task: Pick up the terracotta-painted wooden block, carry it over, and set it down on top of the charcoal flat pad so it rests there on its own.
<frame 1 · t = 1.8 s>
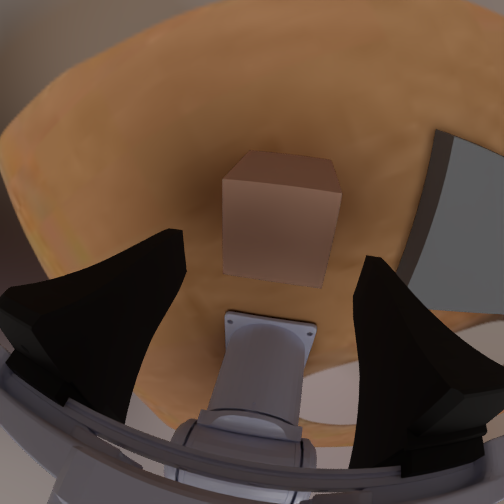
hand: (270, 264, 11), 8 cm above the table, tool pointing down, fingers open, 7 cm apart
charcoal flat pad: (475, 226, 16), on the table
terracotta block: (286, 191, 17), on the table
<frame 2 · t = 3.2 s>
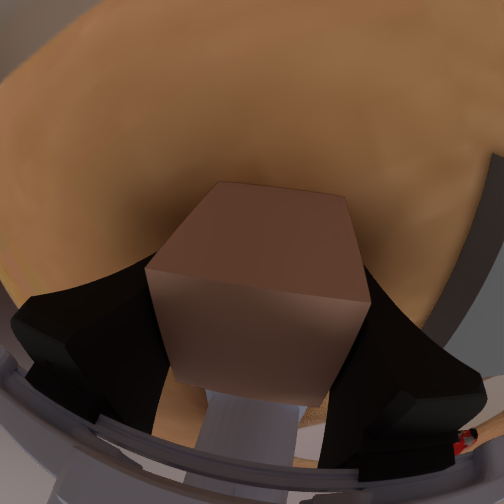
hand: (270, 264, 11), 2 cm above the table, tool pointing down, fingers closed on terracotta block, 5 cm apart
race car: (443, 434, 23), on the table
terracotta block: (275, 242, 12), on the table, touching gripper
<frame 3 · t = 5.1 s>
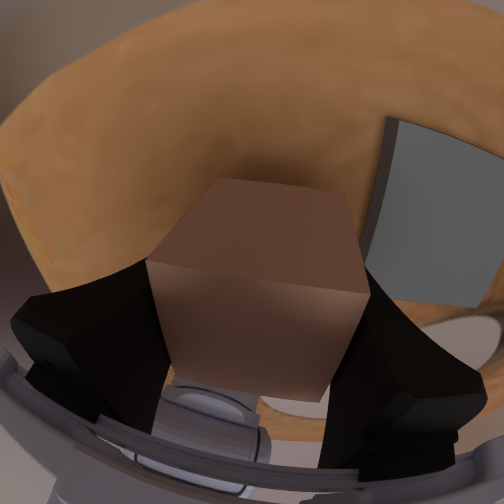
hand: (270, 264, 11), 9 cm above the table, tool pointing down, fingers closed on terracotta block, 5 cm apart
charcoal flat pad: (439, 214, 17), on the table
terracotta block: (275, 238, 12), point 7 cm above the table, touching gripper
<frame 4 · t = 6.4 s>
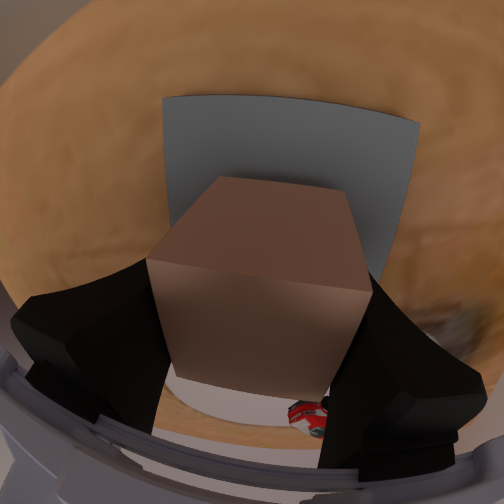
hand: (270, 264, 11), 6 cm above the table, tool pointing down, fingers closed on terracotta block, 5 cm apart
charcoal flat pad: (285, 198, 16), on the table
race car: (340, 408, 29), on the table
terracotta block: (276, 237, 12), point 4 cm above the table, touching gripper
when the fingers open (6 cm above the table, at t = 7.3 s): terracotta block drops 2 cm, point 2 cm above the table.
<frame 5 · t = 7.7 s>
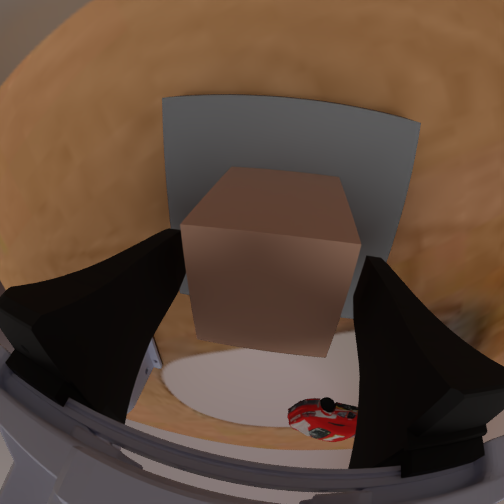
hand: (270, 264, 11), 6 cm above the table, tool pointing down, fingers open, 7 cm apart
charcoal flat pad: (285, 198, 16), on the table
race car: (340, 409, 29), on the table
terracotta block: (281, 219, 14), point 2 cm above the table
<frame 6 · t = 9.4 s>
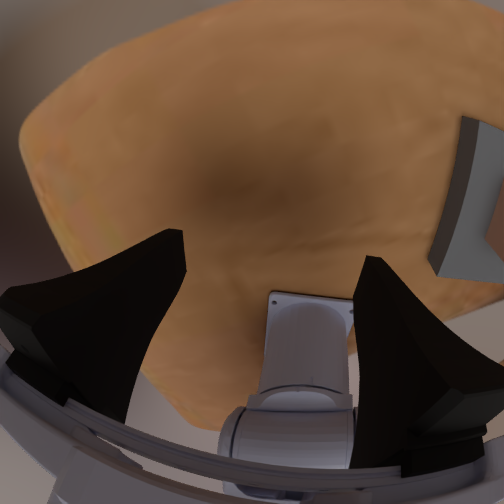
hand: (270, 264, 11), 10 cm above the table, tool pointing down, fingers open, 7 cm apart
charcoal flat pad: (496, 203, 16), on the table, touching terracotta block
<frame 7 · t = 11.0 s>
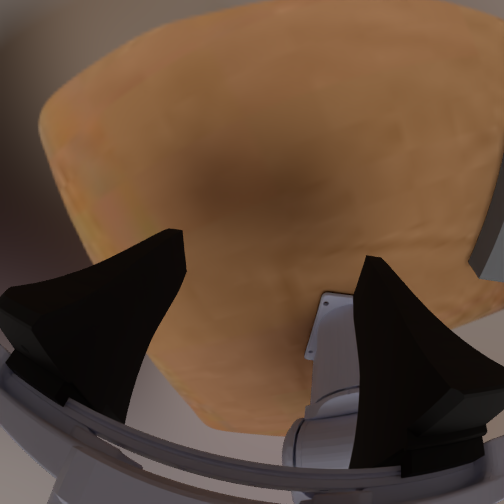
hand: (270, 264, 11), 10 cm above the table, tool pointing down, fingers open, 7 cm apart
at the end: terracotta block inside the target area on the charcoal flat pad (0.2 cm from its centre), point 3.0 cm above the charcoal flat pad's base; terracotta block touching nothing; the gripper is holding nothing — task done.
